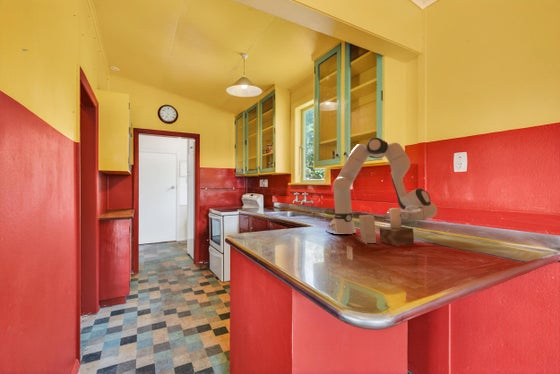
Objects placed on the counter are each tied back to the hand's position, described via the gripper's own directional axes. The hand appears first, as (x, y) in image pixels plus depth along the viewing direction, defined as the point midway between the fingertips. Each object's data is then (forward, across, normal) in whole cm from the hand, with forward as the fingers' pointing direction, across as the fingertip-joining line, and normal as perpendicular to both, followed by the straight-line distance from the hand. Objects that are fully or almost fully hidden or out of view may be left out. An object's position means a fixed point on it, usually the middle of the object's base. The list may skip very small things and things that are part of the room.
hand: (394, 214), depth 140 cm
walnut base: (-1, 0, +16) cm, 16 cm away
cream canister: (-1, 0, +8) cm, 8 cm away
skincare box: (+12, -8, +16) cm, 21 cm away
